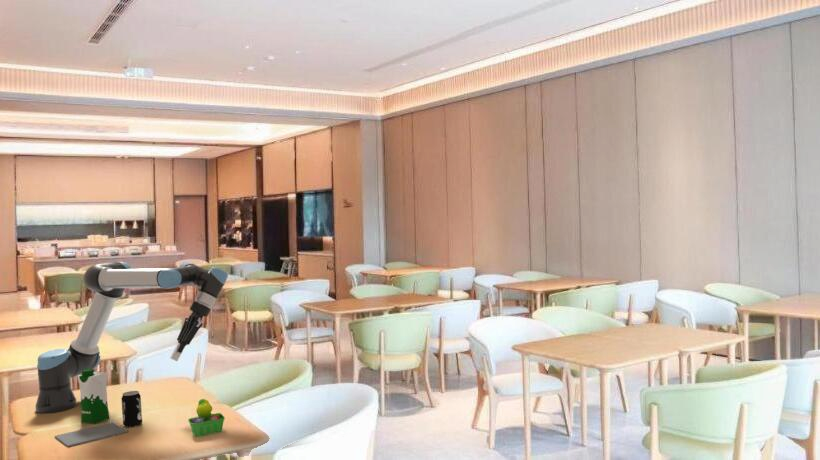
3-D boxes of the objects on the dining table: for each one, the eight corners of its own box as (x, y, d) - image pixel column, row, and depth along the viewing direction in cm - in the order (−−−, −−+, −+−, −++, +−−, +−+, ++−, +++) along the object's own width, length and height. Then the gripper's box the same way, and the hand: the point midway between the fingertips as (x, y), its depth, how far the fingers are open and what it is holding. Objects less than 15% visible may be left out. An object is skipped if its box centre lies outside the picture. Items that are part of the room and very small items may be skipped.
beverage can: (135, 427, 250) (133, 395, 249) (119, 427, 251) (117, 395, 251) (145, 422, 256) (143, 390, 256) (130, 422, 257) (128, 390, 257)
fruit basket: (192, 438, 233) (190, 405, 233) (187, 432, 241) (186, 400, 241) (226, 432, 239) (224, 400, 238) (220, 425, 247) (218, 394, 246)
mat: (54, 437, 243) (54, 435, 243) (112, 423, 256) (112, 422, 256) (68, 447, 231) (67, 445, 231) (128, 432, 244) (128, 430, 244)
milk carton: (77, 423, 260) (74, 370, 259) (97, 416, 268) (94, 365, 267) (94, 425, 256) (90, 372, 255) (113, 418, 264) (110, 366, 264)
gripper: (188, 299, 275) (159, 353, 268) (200, 302, 265) (170, 358, 258) (204, 307, 279) (176, 360, 272) (217, 310, 269) (187, 366, 262)
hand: (173, 359), depth 265 cm, fingers closed
